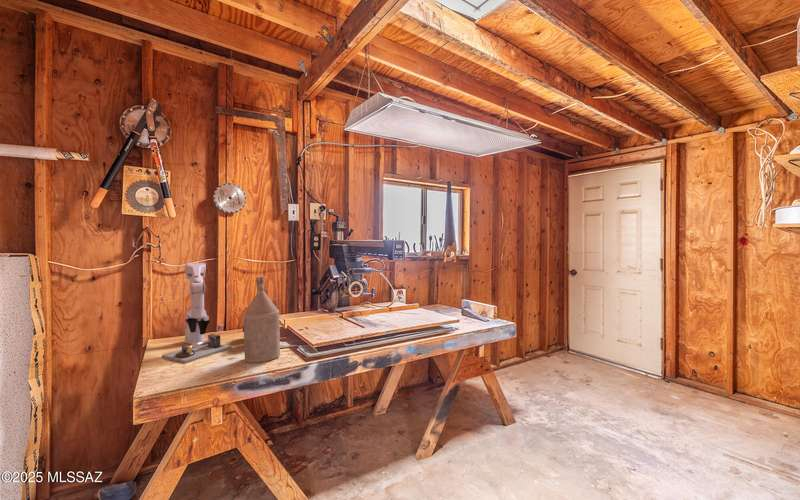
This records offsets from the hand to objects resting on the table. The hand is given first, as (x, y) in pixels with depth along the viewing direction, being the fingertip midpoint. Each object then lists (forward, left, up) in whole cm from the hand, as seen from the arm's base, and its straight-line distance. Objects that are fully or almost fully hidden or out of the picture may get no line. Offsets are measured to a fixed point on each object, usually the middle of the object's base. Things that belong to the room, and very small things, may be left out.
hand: (197, 333), depth 169 cm
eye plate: (+2, +7, -8) cm, 11 cm away
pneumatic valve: (+5, +26, -10) cm, 28 cm away
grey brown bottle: (+36, +8, -10) cm, 39 cm away
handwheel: (+3, -8, -8) cm, 12 cm away
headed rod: (+2, -2, -7) cm, 7 cm away
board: (+1, -1, -10) cm, 10 cm away
